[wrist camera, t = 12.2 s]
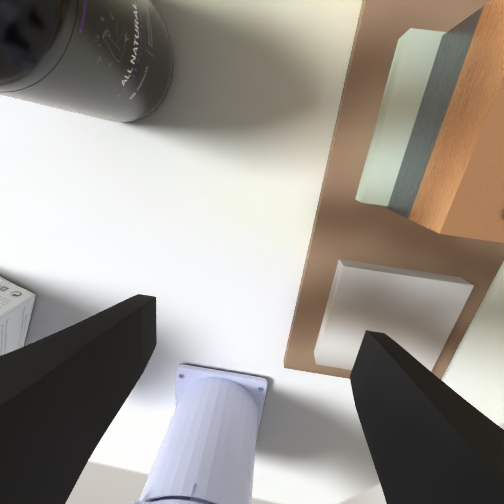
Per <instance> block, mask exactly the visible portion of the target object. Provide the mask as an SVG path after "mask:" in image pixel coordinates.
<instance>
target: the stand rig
mask: <svg viewBox="0 0 504 504" xmlns="http://www.w3.org/2000/svg"><path fill="white" fill-rule="evenodd" d="M490 1H491V0H363V1H362V6H361V11H360V15H359V20H358V24H357V29H356V33H355V38H354V43H353V47H352V52H351V56H350V61H349V65H348V70H347V74H346V79H345V84H344V88H343V93H342V97H341V102H340V106H339V111H338V115H337V120H336V125H335V129H334V134H333V138H332V143H331V147H330V152H329V156H328V161H327V166H326V170H325V175H324V179H323V184H322V188H321V193H320V198H319V202H318V207H317V211H316V216H315V220H314V225H313V229H312V234H311V239H310V243H309V248H308V252H307V257H306V261H305V266H304V270H303V275H302V280H301V284H300V289H299V293H298V298H297V302H296V307H295V311H294V316H293V321H292V325H291V330H290V334H289V339H288V343H287V348H286V353H285V357H284V368H288V369H294V370H300V371H306V372H312V373H319V374H325V375H331V376H337V377H343V378H349V379H350V374H351V371H352V368H353V366H354V363H355V360H356V357H357V354H358V351H359V349H360V346H361V343H362V340H363V337H364V334H365V331H366V330H368V331H374V332H380V333H385V334H386V335H388V336H389V337H390V338H392V339H393V340H394V341H395V342H397V343H398V344H399V345H400V346H401V347H403V348H404V349H405V350H406V351H407V352H409V353H410V354H411V355H412V356H413V357H414V358H416V359H417V360H418V361H419V362H420V363H421V364H423V365H424V366H425V367H426V368H427V369H428V370H430V371H431V372H432V373H433V374H434V375H436V376H437V377H438V378H439V379H440V380H441V378H442V376H443V374H444V372H445V370H446V368H447V366H448V364H449V362H450V361H451V359H452V357H453V355H454V353H455V351H456V349H457V347H458V345H459V343H460V342H461V340H462V338H463V336H464V334H465V332H466V330H467V328H468V326H469V324H470V322H471V321H472V319H473V317H474V315H475V313H476V311H477V309H478V307H479V305H480V303H481V302H482V300H483V298H484V296H485V294H486V292H487V290H488V288H489V286H490V284H491V283H492V281H493V279H494V277H495V275H496V273H497V271H498V269H499V267H500V265H501V263H502V262H503V260H504V243H500V242H493V241H486V240H479V239H472V238H465V237H458V236H451V235H444V234H439V233H437V232H435V231H433V230H431V229H428V228H426V227H424V226H422V225H420V224H418V223H416V222H414V221H412V220H410V219H408V218H406V217H403V216H401V215H399V214H397V213H395V212H393V211H391V210H389V209H387V207H388V204H389V201H390V198H391V195H392V191H393V188H394V185H395V182H396V179H397V176H398V173H399V170H400V166H401V163H402V160H403V157H404V154H405V151H406V148H407V145H408V141H409V138H410V135H411V132H412V129H413V126H414V123H415V120H416V116H417V113H418V110H419V107H420V104H421V101H422V98H423V95H424V91H425V88H426V85H427V82H428V79H429V76H430V73H431V70H432V66H433V63H434V60H435V57H436V54H437V51H438V48H439V45H440V41H441V38H442V35H444V34H445V33H447V32H448V31H449V30H451V29H452V28H453V27H455V26H456V25H458V24H459V23H460V22H462V21H463V20H465V19H466V18H467V17H469V16H470V15H472V14H473V13H474V12H476V11H477V10H479V9H480V8H481V7H483V6H484V5H485V4H487V3H488V2H490Z"/></svg>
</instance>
